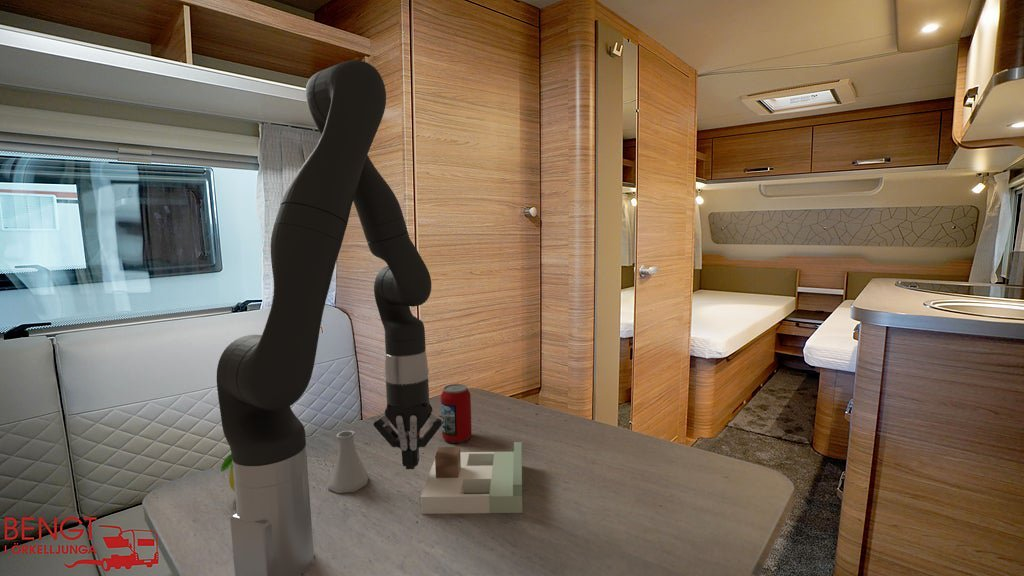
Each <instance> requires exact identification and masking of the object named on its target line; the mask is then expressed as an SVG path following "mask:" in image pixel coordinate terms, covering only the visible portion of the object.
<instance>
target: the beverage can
mask: <svg viewBox="0 0 1024 576" xmlns="http://www.w3.org/2000/svg"><path fill="white" fill-rule="evenodd" d="M471 405H472V402H471V393H470V391H469V389H468V385H465V384H460V383H454V384H452V383H451V384H447V385H446V386H444V387H443V390H442V393H441V394H440V414H441V415H440V416H443V418H444V420H443V423H442V425H441V434H442V435H441V436H442V438H443V440H446V441H447V442H449V443H454V444H457V443H463V442H466V441H467V440H468V439H469V438H470V437H471V436H472V406H471Z"/></svg>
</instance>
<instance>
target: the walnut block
mask: <svg viewBox="0 0 1024 576" xmlns="http://www.w3.org/2000/svg"><path fill="white" fill-rule="evenodd" d="M460 452H461V446H438V448H437V451H436V453H435V456H434V460H435V468H436V478H458V476H459V472H460V468H461V459H460Z"/></svg>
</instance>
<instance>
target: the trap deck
mask: <svg viewBox="0 0 1024 576" xmlns="http://www.w3.org/2000/svg"><path fill="white" fill-rule="evenodd" d="M522 447H523V446H522V441H514V442H513V451H464V452H463V451H460V459H461V468H460V472H459V476H458V478H436V468H435V459H433V463H432V466H431V468H430V471H429V473H428V477H427V479H426V482H425V484H424V487H423V489H422V492H421V494H420V513H421V514H422V515H423V514H424V515H425V514H427V515H430V514H431V515H435V514H436V515H437V514H441V515H442V514H444V515H445V514H447V515H448V514H449V515H450V514H522V513H523V450H522V449H523V448H522Z"/></svg>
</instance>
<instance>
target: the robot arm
mask: <svg viewBox="0 0 1024 576" xmlns="http://www.w3.org/2000/svg"><path fill="white" fill-rule="evenodd" d="M305 100H306V104H307V107H308V110H309V112H310V115H311V117H312V119H313V122H314V124H315V126H316V128H317V130H318V132H319V134H320V139H319V140H318V143H317V144H316V146H315V147H314V148H313V151H312V152H311V153H310V155H309V156H308V157H307V159H306V160H305V161H304V163H303V164H302V166H301V167H300V168H299V170H298V172H297V173H296V174H295V175H294V177H293V179H292V180H291V182H290V183H289V185H288V187H287V189H286V190H285V192H284V195H283V197H282V199H281V202H280V203H279V204H280V205H279V207H278V211H277V213H276V218H275V219H274V220H275V222H274V224H273V228H272V231H271V237H270V259H271V261H270V262H271V269H272V279H273V296H272V302H271V307H270V310H269V313H268V317H267V319H266V323H265V326H264V329H263V332H262V334H247V335H244V336H240V337H238V338H236V339H235V340H233V341H231V343H230V344H228V345H227V346H226V347H225V348H224V350H223V352H222V353H221V355H220V357H219V360H218V363H217V368H216V388H217V397H218V405H219V412H220V418H221V427H222V432H223V436H224V437H225V441H226V442H227V444H228V446H229V448H230V453H231V454H230V455H232V464H233V475H234V488H235V492H234V496H235V497H234V498H235V509H236V513H234V514H233V515H231V516H230V518H229V521H230V533H231V544H232V545H231V546H232V555H233V565H234V566H233V567H234V568H233V569H234V576H302V575H303V574H304V573H306V572H307V571H308V569H309V568H310V567H311V566H312V564H313V563H314V559H315V550H314V536H313V524H312V511H311V510H312V509H311V497H310V483H309V470H308V469H309V468H308V467H309V466H308V453H307V452H308V451H307V442H306V441H307V436H306V430H305V426H304V425H303V423H302V422H301V421H300V419H299V418H298V417H297V416H296V414H295V413H294V411H293V410H292V408H291V406H292V405H294V404H295V403H296V402H298V400H300V398H301V397H303V395H304V393H305V392H306V390H307V388H308V386H309V384H310V381H311V378H312V375H313V371H314V367H315V362H316V361H315V360H316V355H317V351H318V343H319V337H320V336H319V335H320V333H321V324H322V321H323V320H322V319H323V315H324V310H325V306H326V302H327V297H328V294H329V292H330V291H329V290H330V287H331V283H332V279H333V274H334V270H335V266H336V264H337V260H338V257H339V253H340V251H341V247H342V244H343V241H344V237H345V235H346V230H347V227H348V222H349V219H350V214H351V210H352V207H353V206H352V205H353V204H354V207H355V209H356V212H357V216H358V218H359V221H360V222H359V223H360V224H361V228H362V231H363V234H364V237H365V240H366V242H367V246H368V249H369V251H370V253H371V254H372V255H373V256H375V258H379V259H381V260H382V261H384V262H385V263H386V266H384V267H382V268H381V269H379V271H378V273H377V274H376V277H375V279H374V284H373V293H374V295H373V296H374V300H375V304H376V307H377V309H378V313H379V314H378V315H379V317H380V321H381V323H382V326H383V330H384V345H385V362H384V373H385V374H384V375H385V391H386V393H385V394H386V408H385V410H384V413H383V414H382V415H381V416H378V417H377V418H376V419H375V421H374V422H373V426H374V428H375V429H376V430H377V431H378V432H379V434H380V435H381V436H382V437H383V438H384V440H385V441H386V442H387V443H388V444H389V445H390V446H391V447H392V448H398V449H400V450H401V461H402V466H403V467H405V470H415V468H416V467H417V466H418V464H419V461H420V448H425V447H426V446H427V445H428V444H429V443H430V441H431V440H432V439H433V437H434V436H435V434H436V433H437V432H438V431H439V429H440V428H442V423H443V420H444V418H443V416H441V415H437V414H436V413H435V412H434V411H433V407H432V406H431V402H430V390H429V388H430V387H429V373H430V372H429V366H428V358H427V350H426V349H427V348H426V330H425V324H424V322H423V321H422V320H421V319H419V318H418V317H417V316H415V315H413V314H412V311H411V307H419V306H421V305H423V304H425V303H426V302H427V301H428V299H429V298H430V296H431V293H432V279H431V274H430V271H429V269H428V267H427V265H426V264H425V262H424V260H423V258H422V256H421V255H420V253H419V251H418V249H417V247H416V246H415V244H414V243H413V242H412V239H411V238H410V235H409V232H408V227H407V224H406V221H405V217H404V214H403V211H402V210H403V209H402V207H401V205H400V203H399V200H398V198H397V196H396V194H395V193H394V191H393V190H392V188H391V186H390V185H389V184H388V183H387V181H386V180H385V179H384V177H383V176H382V175H381V173H380V172H379V171H378V169H377V168H376V166H375V165H374V163H373V162H372V160H371V158H370V156H369V155H368V154H369V152H370V149H371V146H372V144H373V142H374V140H375V137H376V134H377V132H378V130H379V127H380V125H381V123H382V120H383V117H384V115H385V111H386V105H387V92H386V86H385V83H384V79H383V78H382V75H381V74H380V72H379V71H378V69H377V68H376V67H375V66H373V65H372V64H370V63H369V62H367V61H364V60H357V59H355V60H348V61H347V60H346V61H343V62H340V63H337V64H335V65H331V66H330V67H328V68H325V69H322V70H320V71H318V72H316V73H314V74H313V75H312V76H311V77H309V79H308V81H307V83H306V86H305ZM428 420H429V422H428V425H429V426H430V427H429V428H428V429H427V431H426V432H425V433H424V434H423V436H421V437H420V435H421V429H423V427H424V426H425V424H426V422H427V421H428ZM390 424H391V425H392V426H393V427H394V428H395V429H394V428H393V427H392V426H391V425H390ZM396 430H397V431H396Z"/></svg>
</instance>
